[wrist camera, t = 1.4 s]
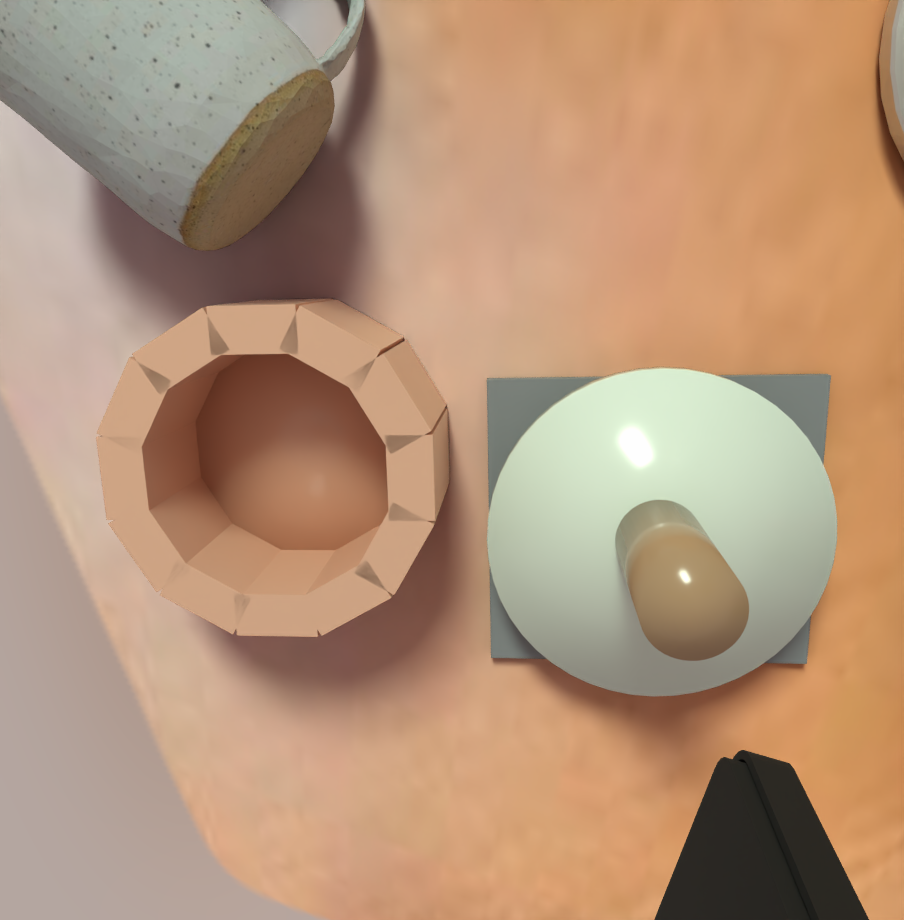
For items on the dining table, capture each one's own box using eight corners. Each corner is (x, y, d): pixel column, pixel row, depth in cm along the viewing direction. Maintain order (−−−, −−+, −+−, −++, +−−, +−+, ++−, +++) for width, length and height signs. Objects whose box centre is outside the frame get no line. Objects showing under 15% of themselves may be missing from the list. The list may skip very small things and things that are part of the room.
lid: (832, 361, 28) (945, 394, 20) (805, 675, 31) (897, 808, 23) (487, 365, 29) (474, 399, 22) (491, 669, 32) (480, 794, 24)
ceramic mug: (244, 270, 30) (153, 267, 22) (66, 117, 29) (-90, 59, 21) (431, 27, 27) (400, -68, 20) (244, -146, 27) (138, -313, 19)
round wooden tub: (444, 295, 29) (428, 301, 24) (452, 581, 32) (438, 639, 27) (151, 302, 30) (79, 308, 25) (181, 579, 33) (121, 633, 28)
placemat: (826, 373, 28) (830, 375, 28) (803, 658, 31) (806, 663, 31) (487, 378, 30) (487, 379, 29) (491, 653, 32) (491, 657, 32)
